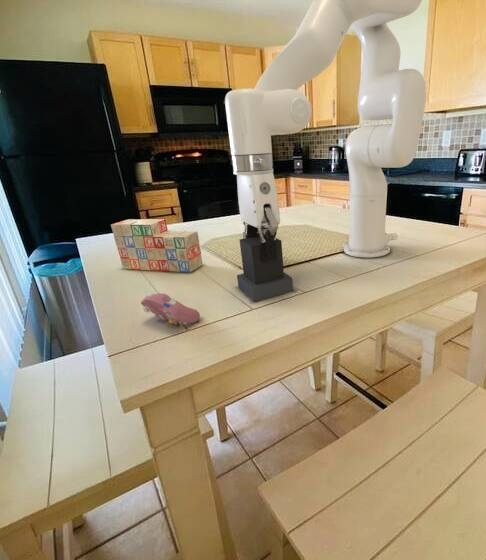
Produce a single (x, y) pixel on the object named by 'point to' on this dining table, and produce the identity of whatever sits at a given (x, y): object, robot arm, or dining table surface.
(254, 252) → the black pad
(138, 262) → the stack of blocks
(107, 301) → the dining table surface
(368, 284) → the dining table surface
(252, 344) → the dining table surface
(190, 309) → the pink toy car
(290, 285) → the base pad
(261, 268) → the charcoal pad
